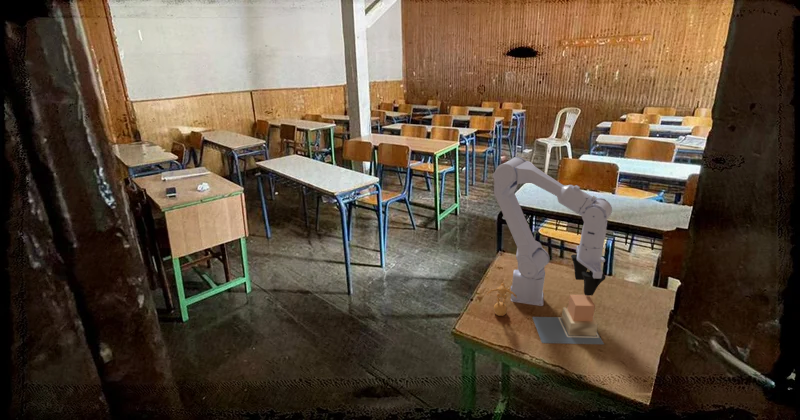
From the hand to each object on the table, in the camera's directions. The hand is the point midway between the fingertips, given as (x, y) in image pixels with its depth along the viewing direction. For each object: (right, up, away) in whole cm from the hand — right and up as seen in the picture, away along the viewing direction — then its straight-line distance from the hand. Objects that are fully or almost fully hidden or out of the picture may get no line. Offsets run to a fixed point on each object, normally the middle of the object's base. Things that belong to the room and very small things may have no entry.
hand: (583, 286), depth 116 cm
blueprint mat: (-6, -12, -2) cm, 13 cm away
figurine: (-23, -10, +4) cm, 25 cm away
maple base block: (-2, -11, -1) cm, 11 cm away
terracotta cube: (-2, -7, -3) cm, 8 cm away
